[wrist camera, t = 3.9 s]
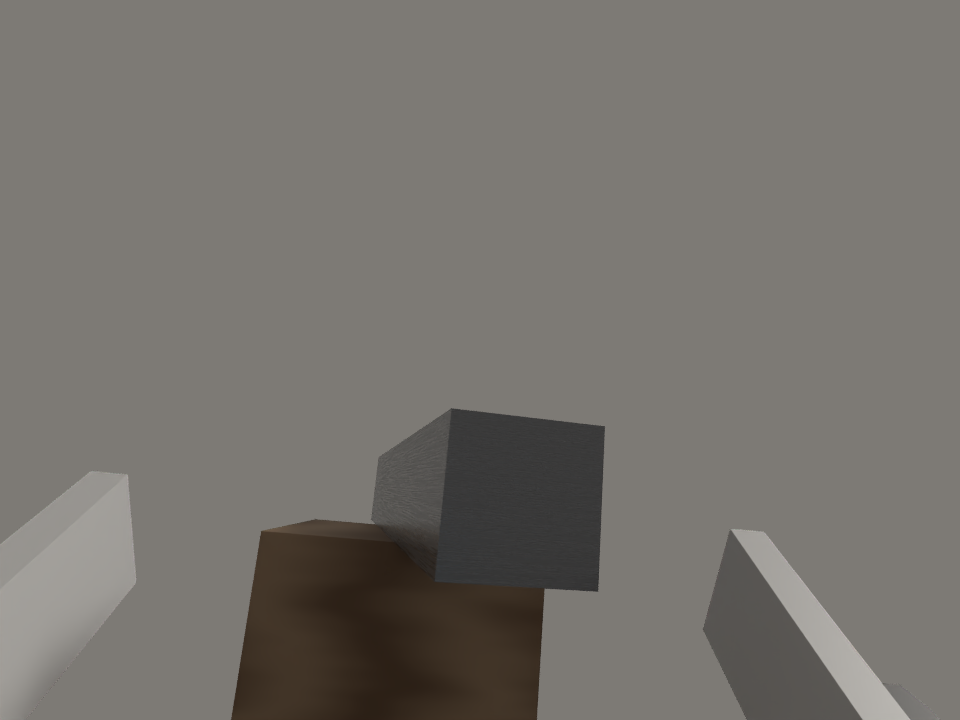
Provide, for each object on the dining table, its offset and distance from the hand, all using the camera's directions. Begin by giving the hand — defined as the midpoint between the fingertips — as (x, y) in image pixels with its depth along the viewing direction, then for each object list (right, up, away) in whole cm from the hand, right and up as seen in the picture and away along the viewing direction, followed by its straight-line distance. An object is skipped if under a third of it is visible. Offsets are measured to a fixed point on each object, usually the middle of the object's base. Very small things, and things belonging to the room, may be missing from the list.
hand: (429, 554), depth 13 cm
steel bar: (-1, -3, +11) cm, 11 cm away
